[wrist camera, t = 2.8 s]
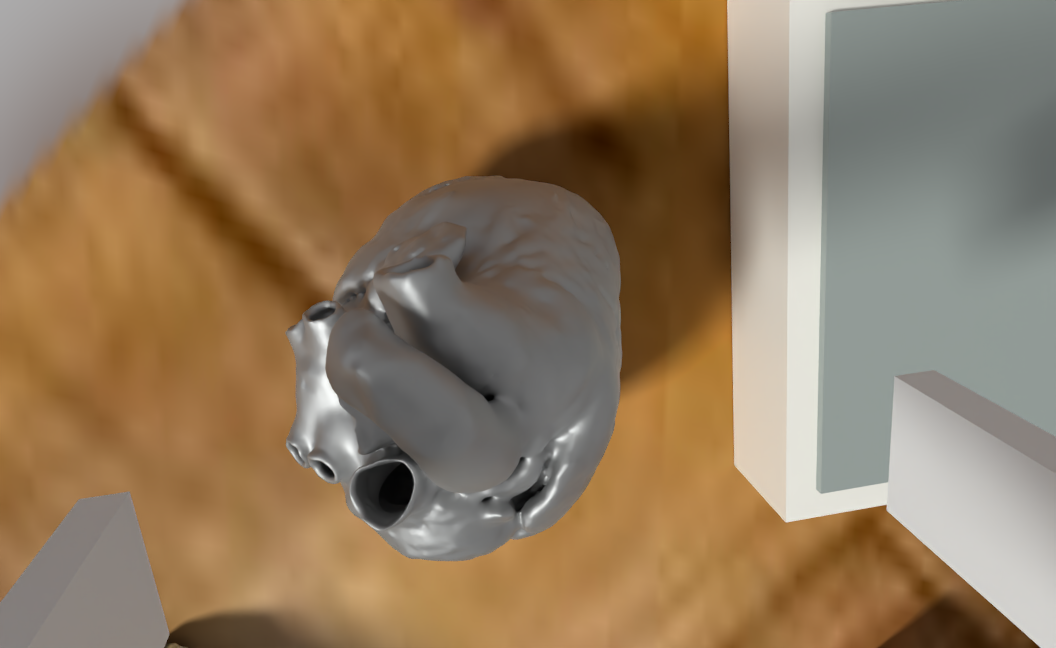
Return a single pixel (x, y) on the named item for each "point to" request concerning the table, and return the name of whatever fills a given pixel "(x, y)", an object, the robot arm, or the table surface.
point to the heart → (465, 367)
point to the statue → (173, 646)
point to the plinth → (884, 227)
